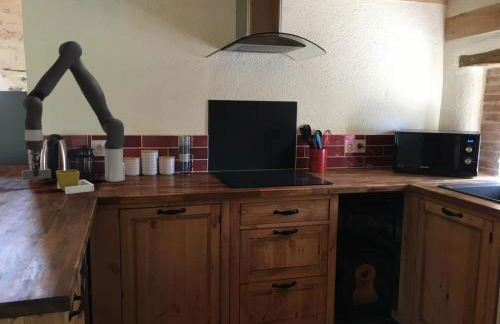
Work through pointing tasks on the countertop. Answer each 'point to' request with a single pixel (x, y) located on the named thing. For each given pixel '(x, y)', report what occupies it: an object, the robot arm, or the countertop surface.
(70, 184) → the flower pot
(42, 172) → the tall gray bar
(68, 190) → the white shallow tray
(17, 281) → the countertop surface
